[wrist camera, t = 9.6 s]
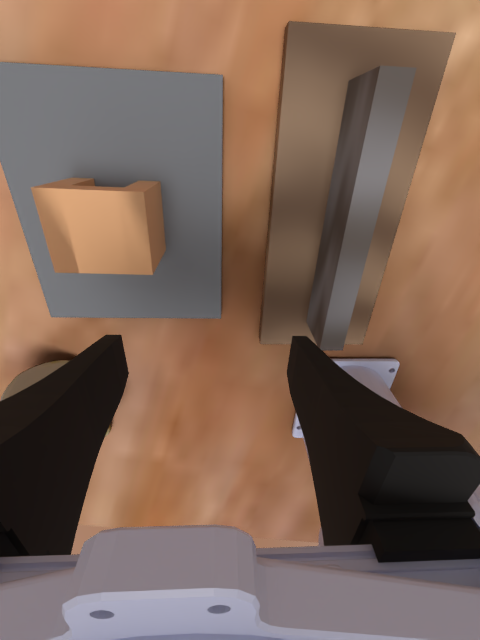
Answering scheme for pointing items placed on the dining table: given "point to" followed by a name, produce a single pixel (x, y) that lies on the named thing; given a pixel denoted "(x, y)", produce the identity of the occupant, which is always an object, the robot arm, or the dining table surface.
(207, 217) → the mat
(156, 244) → the u-shaped block
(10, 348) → the dining table surface
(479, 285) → the dining table surface
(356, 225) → the stand
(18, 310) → the dining table surface
